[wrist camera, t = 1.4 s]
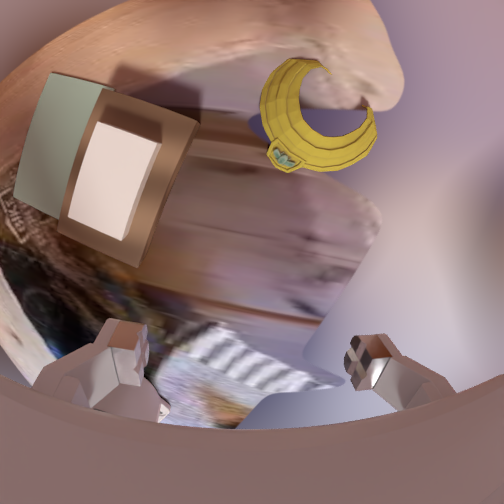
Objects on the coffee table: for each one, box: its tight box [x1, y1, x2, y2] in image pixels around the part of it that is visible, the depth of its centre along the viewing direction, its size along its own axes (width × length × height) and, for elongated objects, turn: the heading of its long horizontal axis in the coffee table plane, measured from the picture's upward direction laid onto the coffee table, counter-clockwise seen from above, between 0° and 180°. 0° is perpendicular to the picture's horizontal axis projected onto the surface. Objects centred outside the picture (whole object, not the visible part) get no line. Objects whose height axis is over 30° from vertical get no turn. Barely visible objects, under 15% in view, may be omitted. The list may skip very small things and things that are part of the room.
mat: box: [13, 73, 115, 220], centre depth 23 cm, size 16×10×1 cm, turn 154°
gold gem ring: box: [260, 59, 377, 173], centre depth 24 cm, size 13×13×4 cm
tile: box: [68, 121, 162, 241], centre depth 21 cm, size 9×6×2 cm, turn 154°
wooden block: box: [57, 88, 200, 268], centre depth 24 cm, size 15×10×4 cm, turn 154°
